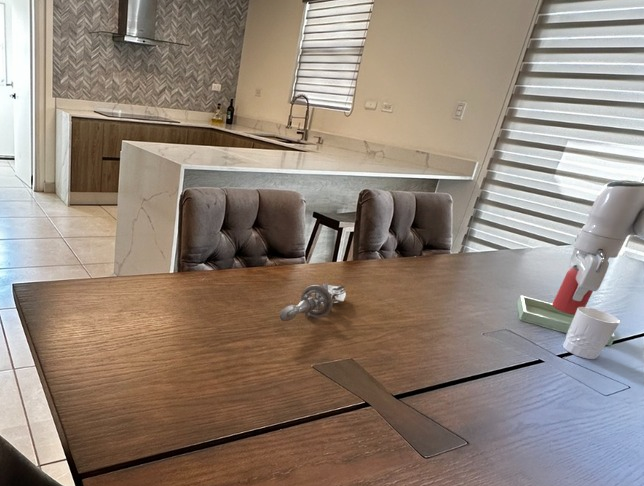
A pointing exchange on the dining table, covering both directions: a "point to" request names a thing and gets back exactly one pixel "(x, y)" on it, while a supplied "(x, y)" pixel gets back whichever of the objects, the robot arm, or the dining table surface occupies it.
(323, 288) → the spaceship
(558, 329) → the serving tray
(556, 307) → the beer can
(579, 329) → the white cup
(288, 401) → the dining table surface
